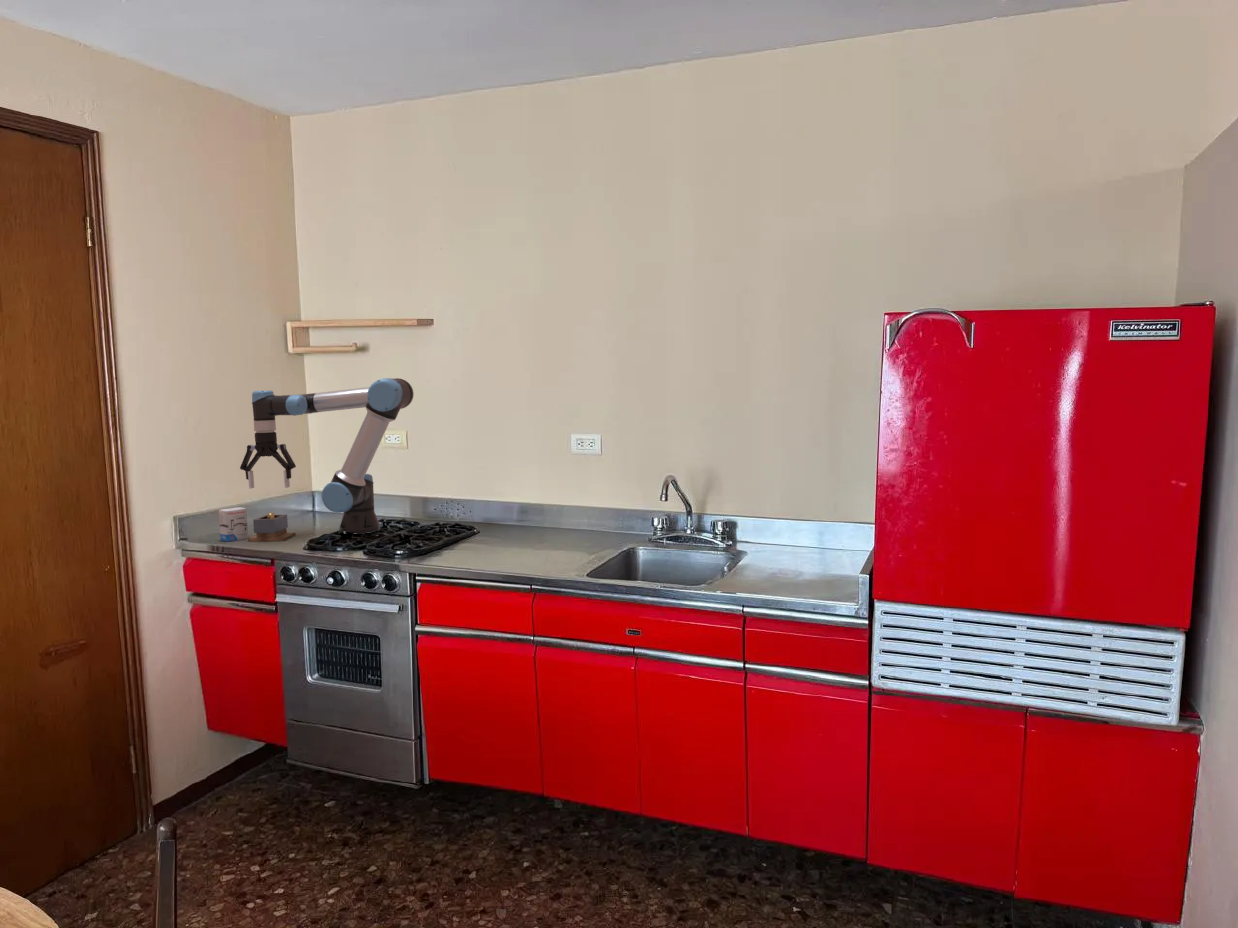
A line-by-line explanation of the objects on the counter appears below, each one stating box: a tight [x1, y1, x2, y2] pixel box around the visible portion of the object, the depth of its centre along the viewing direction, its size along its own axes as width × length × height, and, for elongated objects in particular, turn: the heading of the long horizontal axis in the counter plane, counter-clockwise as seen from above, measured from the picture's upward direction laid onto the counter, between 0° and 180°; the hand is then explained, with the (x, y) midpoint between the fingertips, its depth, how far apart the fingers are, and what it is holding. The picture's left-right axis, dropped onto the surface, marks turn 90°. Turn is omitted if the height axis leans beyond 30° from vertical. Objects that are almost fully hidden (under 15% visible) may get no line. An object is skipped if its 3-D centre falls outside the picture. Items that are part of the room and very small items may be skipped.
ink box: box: [218, 506, 249, 543], centre depth 309 cm, size 9×5×12 cm, turn 143°
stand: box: [247, 528, 297, 542], centre depth 310 cm, size 14×10×3 cm
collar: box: [253, 514, 289, 534], centre depth 310 cm, size 8×11×5 cm
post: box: [266, 512, 275, 519], centre depth 310 cm, size 2×3×6 cm
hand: (269, 487), depth 308 cm, fingers open, 13 cm apart
